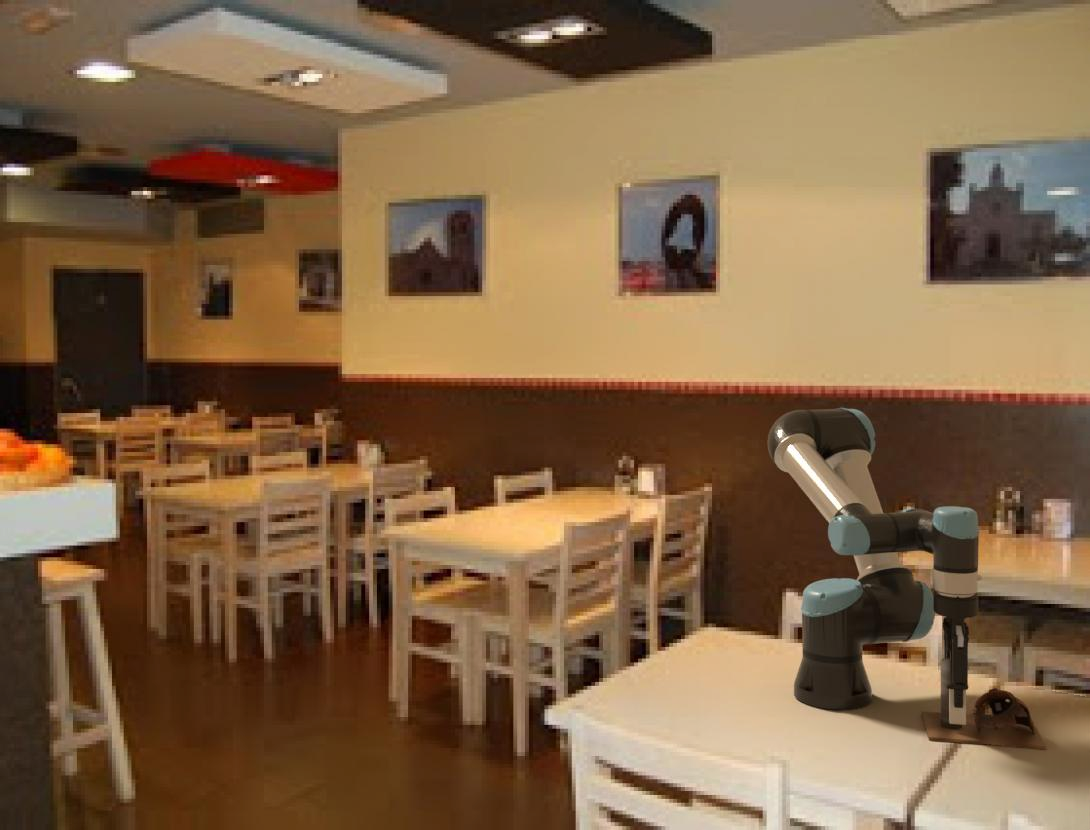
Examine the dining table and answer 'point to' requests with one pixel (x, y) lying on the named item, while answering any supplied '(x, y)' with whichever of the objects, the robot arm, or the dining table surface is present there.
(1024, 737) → the brown board with post
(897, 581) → the robot arm
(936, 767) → the dining table surface
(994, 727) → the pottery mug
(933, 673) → the dining table surface
